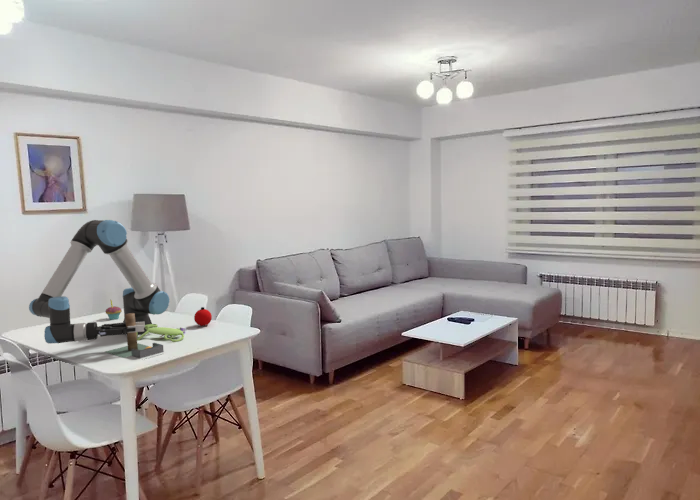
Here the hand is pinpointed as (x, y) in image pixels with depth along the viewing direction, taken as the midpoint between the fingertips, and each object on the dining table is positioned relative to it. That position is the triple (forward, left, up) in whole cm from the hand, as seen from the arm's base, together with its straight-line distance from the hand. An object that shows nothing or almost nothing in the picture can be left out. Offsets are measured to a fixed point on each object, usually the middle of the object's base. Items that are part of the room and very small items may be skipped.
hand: (144, 326), depth 225 cm
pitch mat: (-3, -5, -11) cm, 12 cm away
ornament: (-16, +44, -11) cm, 48 cm away
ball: (+9, -4, -9) cm, 13 cm away
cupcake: (-75, +27, -11) cm, 80 cm away
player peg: (-3, -4, -10) cm, 11 cm away
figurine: (-15, +17, -12) cm, 25 cm away
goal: (+8, -4, -11) cm, 14 cm away
